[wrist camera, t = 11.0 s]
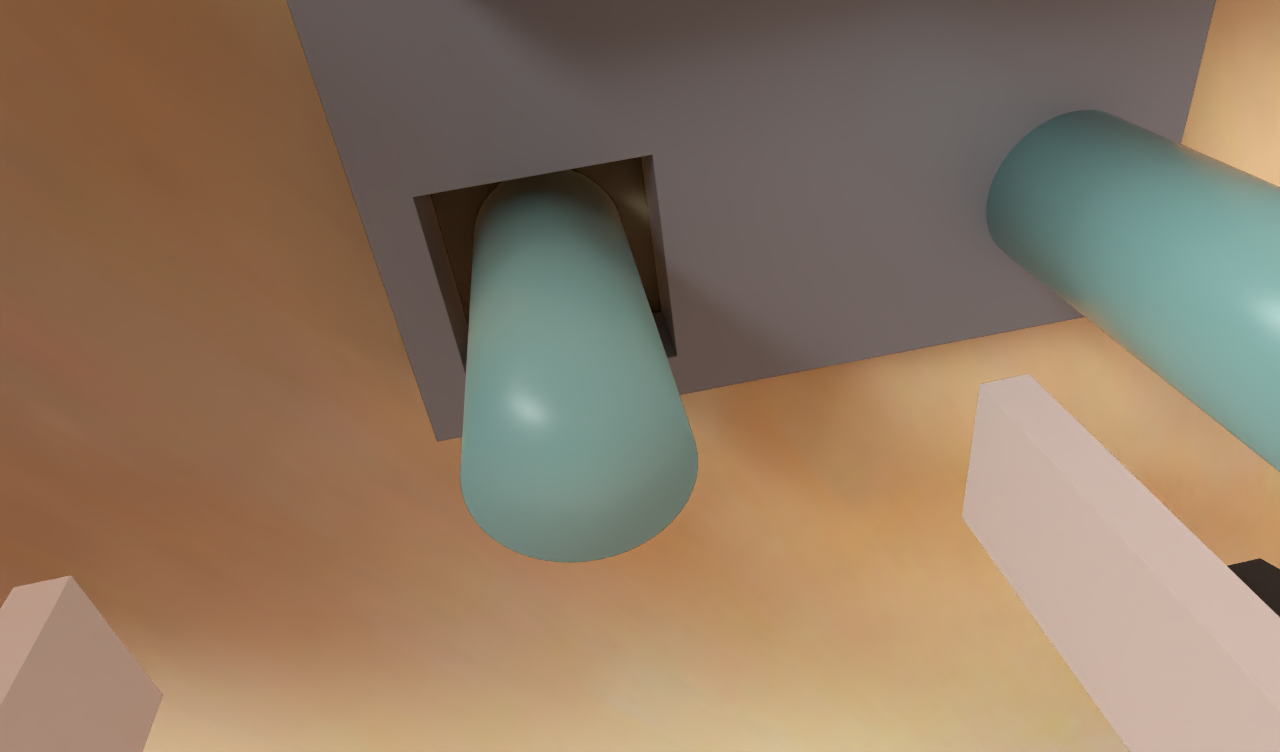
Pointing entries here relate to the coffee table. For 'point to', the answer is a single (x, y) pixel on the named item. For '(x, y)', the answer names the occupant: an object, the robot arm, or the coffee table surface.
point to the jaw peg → (567, 380)
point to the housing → (827, 175)
